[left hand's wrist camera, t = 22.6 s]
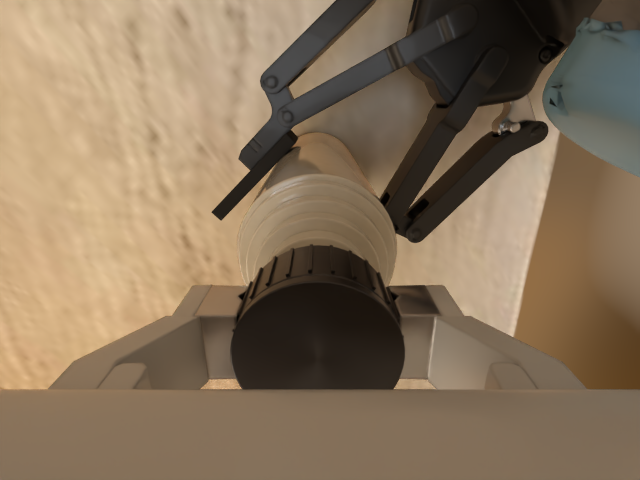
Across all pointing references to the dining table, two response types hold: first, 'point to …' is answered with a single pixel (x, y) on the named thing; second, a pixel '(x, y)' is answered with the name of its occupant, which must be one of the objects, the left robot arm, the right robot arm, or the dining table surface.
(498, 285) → the dining table surface
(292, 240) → the bottle
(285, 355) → the cap
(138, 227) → the dining table surface
